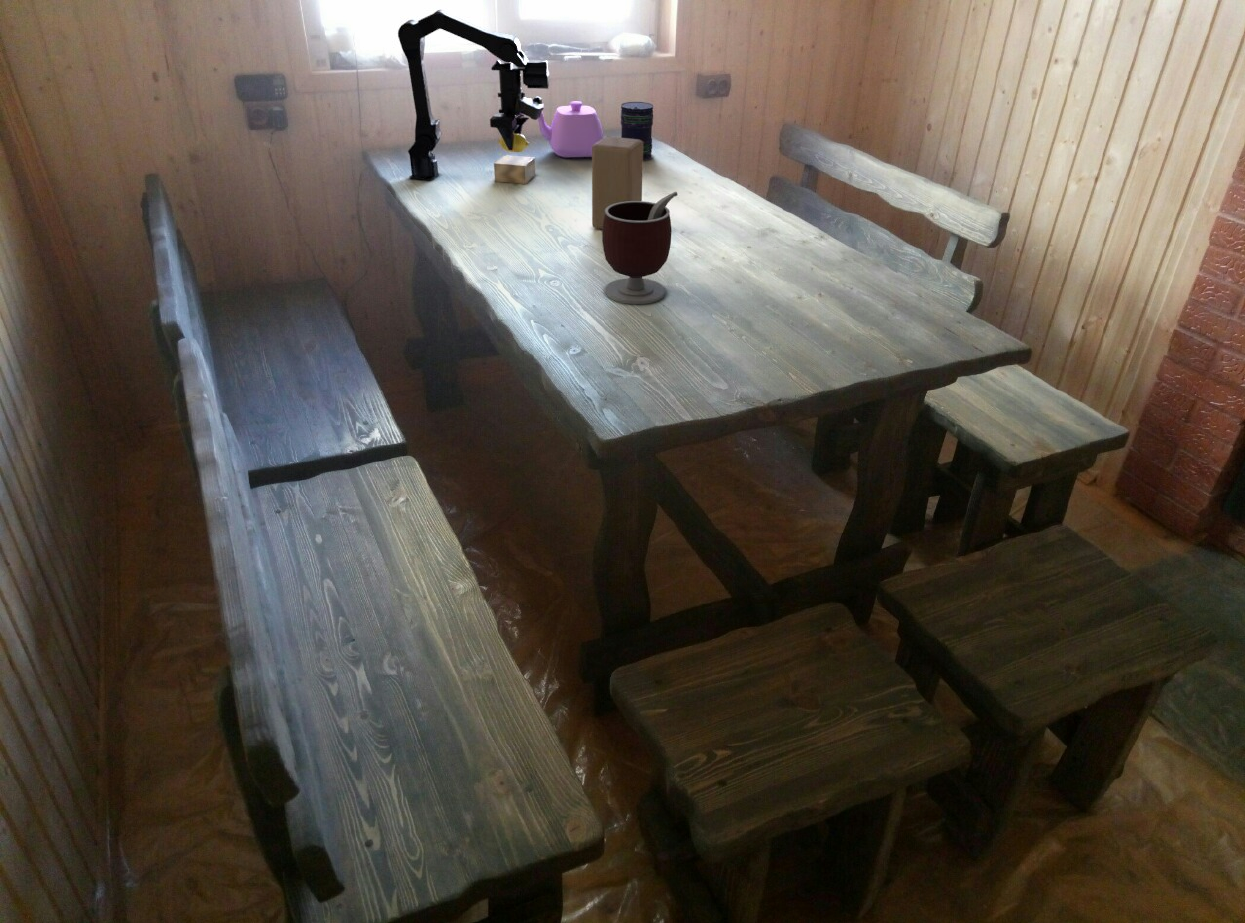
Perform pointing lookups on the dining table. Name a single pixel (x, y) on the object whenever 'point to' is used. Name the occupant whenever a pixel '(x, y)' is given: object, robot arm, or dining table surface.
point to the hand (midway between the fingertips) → (513, 147)
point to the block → (615, 174)
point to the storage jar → (638, 124)
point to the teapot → (572, 130)
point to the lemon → (515, 143)
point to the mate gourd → (637, 248)
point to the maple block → (514, 169)
